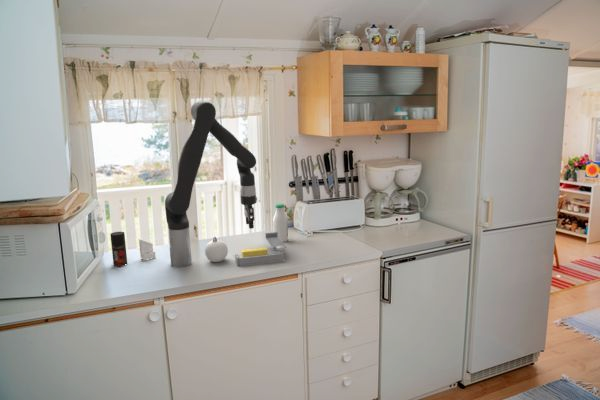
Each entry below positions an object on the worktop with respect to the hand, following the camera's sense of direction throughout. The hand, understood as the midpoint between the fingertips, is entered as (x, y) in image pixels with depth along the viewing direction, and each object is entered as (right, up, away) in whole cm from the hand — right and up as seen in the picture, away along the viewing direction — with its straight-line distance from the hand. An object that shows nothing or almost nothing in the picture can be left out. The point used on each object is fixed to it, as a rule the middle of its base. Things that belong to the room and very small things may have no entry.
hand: (249, 226), depth 225 cm
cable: (+3, -14, -8) cm, 16 cm away
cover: (+13, -8, -5) cm, 17 cm away
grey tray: (+5, -15, -12) cm, 20 cm away
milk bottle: (+15, -9, +16) cm, 24 cm away
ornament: (-14, -16, -14) cm, 25 cm away
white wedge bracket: (-48, -15, -8) cm, 51 cm away
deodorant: (-58, -17, -16) cm, 62 cm away
